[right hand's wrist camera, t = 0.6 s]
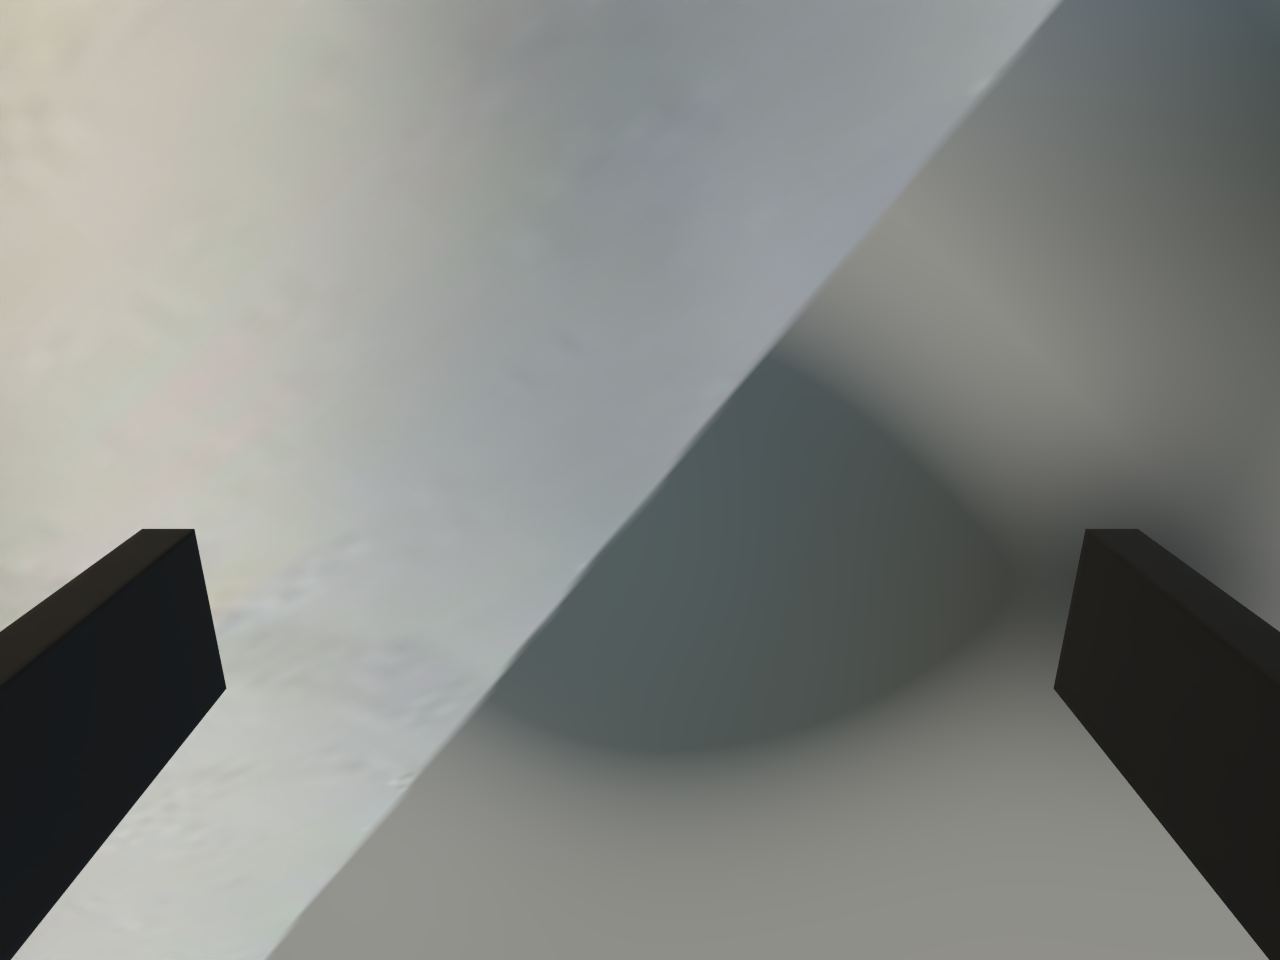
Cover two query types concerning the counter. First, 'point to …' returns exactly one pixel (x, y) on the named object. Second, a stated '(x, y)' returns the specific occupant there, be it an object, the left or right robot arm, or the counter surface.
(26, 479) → the counter surface
